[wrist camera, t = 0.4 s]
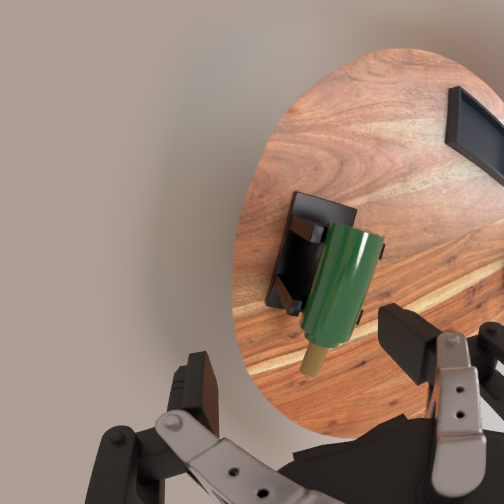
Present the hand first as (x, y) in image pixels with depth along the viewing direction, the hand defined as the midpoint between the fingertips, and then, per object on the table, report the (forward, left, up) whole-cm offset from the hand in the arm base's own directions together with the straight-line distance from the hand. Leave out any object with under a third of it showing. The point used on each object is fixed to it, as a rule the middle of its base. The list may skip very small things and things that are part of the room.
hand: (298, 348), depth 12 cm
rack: (0, +8, -22) cm, 23 cm away
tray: (-27, +35, -22) cm, 49 cm away
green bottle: (+2, +8, -15) cm, 17 cm away
